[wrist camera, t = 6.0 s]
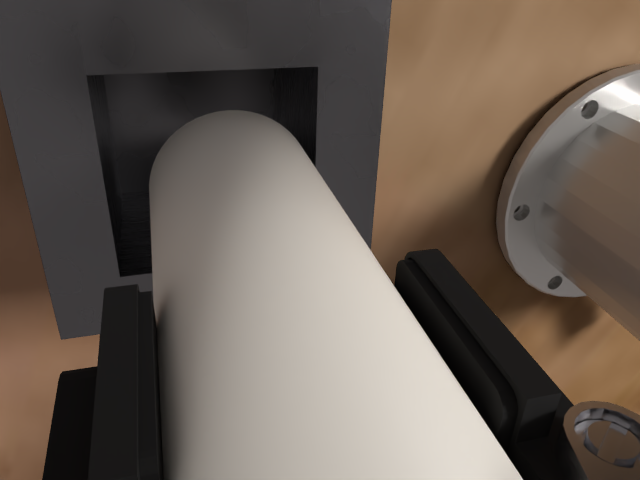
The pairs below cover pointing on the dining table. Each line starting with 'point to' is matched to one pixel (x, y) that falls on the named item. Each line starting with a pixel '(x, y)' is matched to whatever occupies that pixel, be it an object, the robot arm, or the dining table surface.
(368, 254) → the dowel pin
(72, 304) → the socket block
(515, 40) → the dining table surface
